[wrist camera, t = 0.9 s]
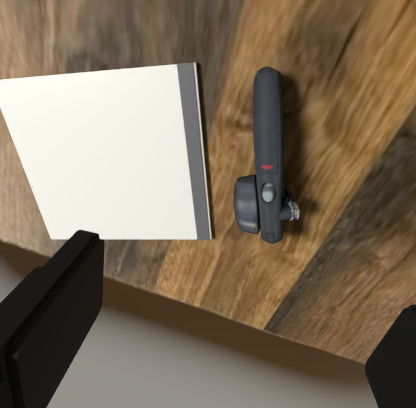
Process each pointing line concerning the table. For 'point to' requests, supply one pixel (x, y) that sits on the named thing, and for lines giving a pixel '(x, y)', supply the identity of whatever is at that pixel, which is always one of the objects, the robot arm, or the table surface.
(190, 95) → the mat
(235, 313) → the table surface
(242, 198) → the can opener
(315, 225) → the table surface
